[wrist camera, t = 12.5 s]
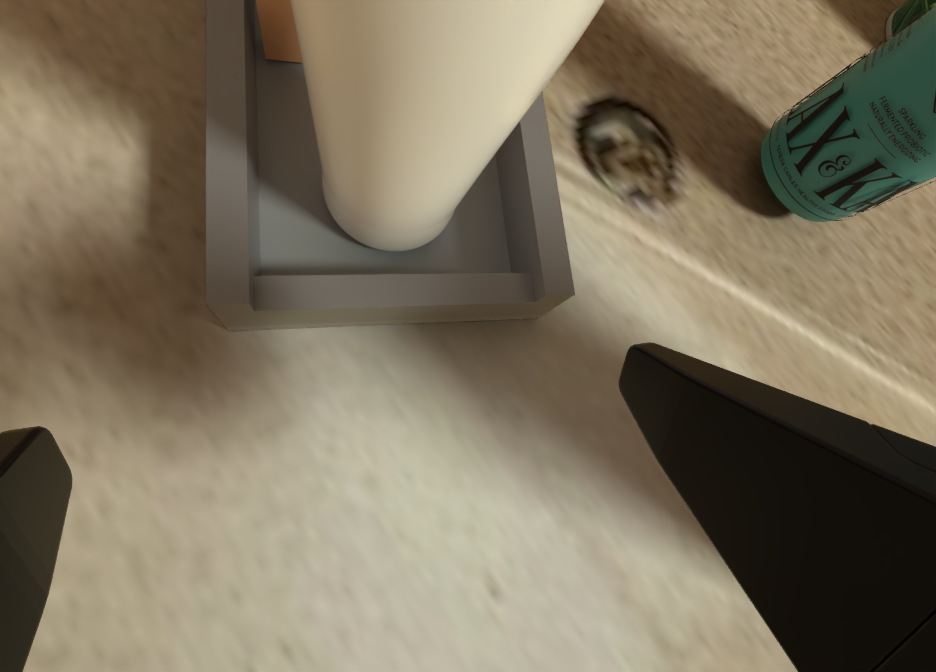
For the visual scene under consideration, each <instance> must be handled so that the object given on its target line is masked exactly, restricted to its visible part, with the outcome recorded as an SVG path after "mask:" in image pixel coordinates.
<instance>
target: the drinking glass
mask: <svg viewBox="0 0 936 672" xmlns="http://www.w3.org/2000/svg"><path fill="white" fill-rule="evenodd" d="M289 1H290V6H291V11H292V16H293V21H294V26H295V32H296V37H297V42H298V47H299V52H300V57H301V62H302V67H303V72H304V77H305V82H306V88H307V93H308V98H309V103H310V108H311V114H312V119H313V124H314V130H315V135H316V140H317V146H318V151H319V157H320V163H321V179H322V190H323V196H324V199H325V203H326V205H327V208H328V210H329V212H330V214H331V215H332V217H333V218H334V220H335V221H336V223H337V224H338V225H339V226H340V227H341V228H342V229H343V230H344V231H345V232H346V233H347V234H348V235H349V236H351V237H352V238H353V239H355V240H357V241H358V242H360V243H362V244H364V245H366V246H369V247H371V248H374V249H378V250H383V251H391V252H400V251H408V250H413V249H416V248H419V247H421V246H424V245H425V244H427V243H429V242H431V241H432V240H434V239H435V238H436V237H437V236H438V235H439V234H440V233H441V232H442V231H443V230H444V229H445V227H446V226H447V225H448V223H449V221H450V220H451V218H452V216H453V214H454V212H455V210H456V208H457V207H458V205H459V203H460V202H461V201H462V199H463V198H464V196H465V195H466V194H467V192H468V191H469V189H470V188H471V187H472V185H473V184H474V183H475V181H476V180H477V178H478V177H479V176H480V174H481V173H482V172H483V170H484V169H485V167H486V166H487V165H488V163H489V162H490V161H491V159H492V158H493V157H494V155H495V154H496V152H497V151H498V150H499V148H500V147H501V146H502V144H503V143H504V142H505V140H506V139H507V138H508V136H509V135H510V134H511V132H512V131H513V130H514V128H515V127H516V126H517V124H518V123H519V122H520V120H521V119H522V117H523V116H524V115H525V113H526V112H527V111H528V109H529V108H530V107H531V105H532V104H533V103H534V101H535V100H536V99H537V97H538V96H539V95H540V93H541V92H542V91H543V89H544V88H545V87H546V85H547V84H548V83H549V81H550V80H551V79H552V77H553V76H554V74H555V73H556V72H557V70H558V69H559V68H560V66H561V65H562V63H563V62H564V61H565V59H566V58H567V57H568V55H569V54H570V52H571V51H572V49H573V48H574V47H575V45H576V44H577V42H578V41H579V39H580V38H581V36H582V35H583V34H584V32H585V31H586V29H587V28H588V26H589V25H590V23H591V22H592V20H593V19H594V17H595V15H596V14H597V12H598V11H599V9H600V8H601V6H602V5H603V3H604V2H605V0H289Z"/></svg>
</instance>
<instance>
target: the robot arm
mask: <svg viewBox="0 0 936 672" xmlns="http://www.w3.org/2000/svg"><path fill="white" fill-rule="evenodd" d="M619 389H620V392H621V394H622V396H623V398H624V400H625V402H626V404H627V406H628V407H629V409H630V411H631V413H632V415H633V417H634V419H635V420H636V422H637V424H638V426H639V428H640V430H641V432H642V434H643V435H644V437H645V439H646V441H647V443H648V445H649V447H650V449H651V450H652V452H653V454H654V456H655V457H656V459H657V461H658V462H659V464H660V466H661V467H662V469H663V470H664V472H665V473H666V475H667V476H668V478H669V479H670V481H671V482H672V484H673V485H674V487H675V488H676V490H677V491H678V493H679V494H680V496H681V497H682V499H683V500H684V502H685V503H686V505H687V506H688V508H689V509H690V511H691V512H692V514H693V515H694V517H695V518H696V520H697V521H698V523H699V524H700V526H701V527H702V529H703V530H704V532H705V533H706V535H707V536H708V538H709V539H710V541H711V542H712V544H713V545H714V547H715V548H716V550H717V551H718V553H719V554H720V556H721V557H722V559H723V560H724V562H725V563H726V565H727V566H728V568H729V569H730V571H731V572H732V574H733V575H734V577H735V578H736V580H737V581H738V583H739V584H740V586H741V587H742V589H743V590H744V592H745V593H746V595H747V596H748V598H749V599H750V601H751V602H752V604H753V605H754V607H755V608H756V610H757V611H758V613H759V614H760V616H761V617H762V619H763V620H764V622H765V623H766V625H767V626H768V628H769V629H770V631H771V632H772V634H773V635H774V637H775V638H776V639H777V641H778V642H779V644H780V645H781V647H782V648H783V650H784V651H785V653H786V654H787V656H788V657H789V659H790V660H791V662H792V663H793V665H794V666H795V668H796V669H797V671H798V672H936V447H935V446H932V445H929V444H927V443H924V442H921V441H918V440H915V439H913V438H910V437H907V436H904V435H902V434H899V433H896V432H893V431H891V430H888V429H885V428H883V427H880V426H877V425H874V424H871V425H870V424H869V423H868V422H866V421H863V420H861V419H858V418H855V417H853V416H850V415H847V414H845V413H842V412H839V411H836V410H834V409H831V408H828V407H826V406H823V405H820V404H817V403H815V402H812V401H809V400H807V399H804V398H801V397H799V396H796V395H793V394H790V393H788V392H785V391H782V390H780V389H777V388H774V387H772V386H769V385H766V384H763V383H761V382H758V381H755V380H753V379H750V378H747V377H745V376H742V375H739V374H736V373H734V372H731V371H728V370H726V369H723V368H720V367H718V366H715V365H712V364H709V363H707V362H704V361H701V360H699V359H696V358H693V357H690V356H688V355H685V354H682V353H680V352H677V351H674V350H672V349H669V348H666V347H663V346H661V345H658V344H655V343H642V344H635V345H633V346H631V347H630V348H629V349H628V351H627V354H626V358H625V361H624V364H623V368H622V371H621V375H620V378H619ZM71 489H72V474H71V470H70V468H69V466H68V464H67V462H66V460H65V458H64V456H63V454H62V452H61V451H60V449H59V447H58V445H57V443H56V441H55V439H54V437H53V435H52V434H51V433H50V431H49V430H48V429H46V428H44V427H40V426H37V427H29V428H22V429H15V430H8V431H5V432H2V433H0V672H23V669H24V666H25V663H26V660H27V657H28V655H29V652H30V649H31V646H32V643H33V640H34V637H35V634H36V631H37V628H38V626H39V623H40V620H41V617H42V614H43V610H44V607H45V604H46V601H47V598H48V594H49V590H50V586H51V582H52V578H53V573H54V569H55V564H56V559H57V555H58V550H59V545H60V540H61V536H62V531H63V526H64V522H65V517H66V512H67V508H68V503H69V498H70V493H71Z"/></svg>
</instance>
